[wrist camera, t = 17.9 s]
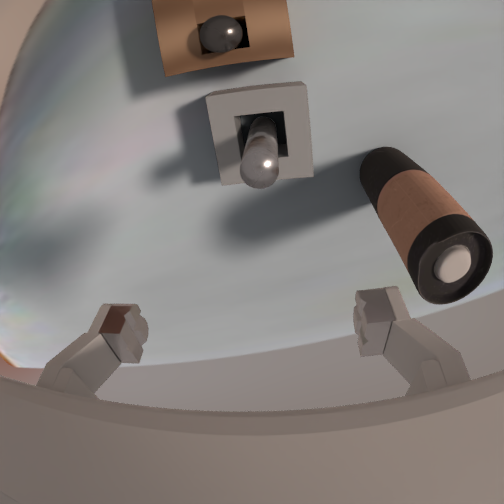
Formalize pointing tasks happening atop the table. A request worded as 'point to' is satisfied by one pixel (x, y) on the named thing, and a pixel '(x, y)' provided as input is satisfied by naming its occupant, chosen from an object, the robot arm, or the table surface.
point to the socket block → (209, 5)
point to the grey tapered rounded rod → (260, 154)
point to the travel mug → (426, 227)
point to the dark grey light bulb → (221, 34)
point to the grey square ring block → (252, 102)
